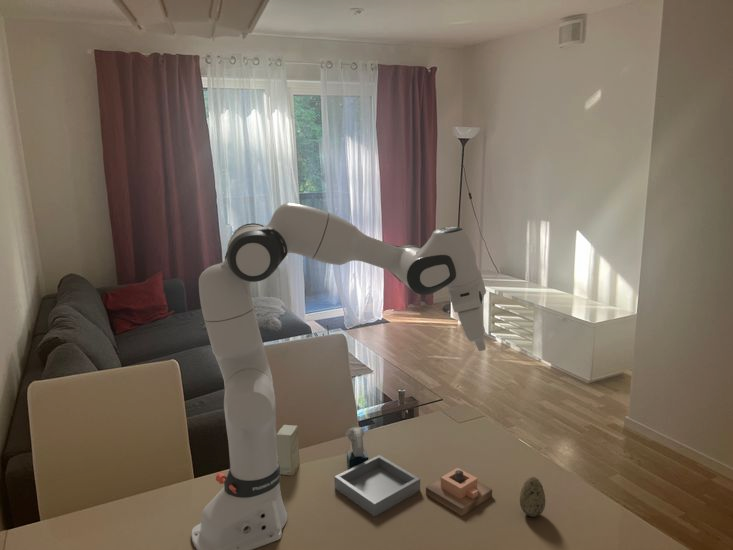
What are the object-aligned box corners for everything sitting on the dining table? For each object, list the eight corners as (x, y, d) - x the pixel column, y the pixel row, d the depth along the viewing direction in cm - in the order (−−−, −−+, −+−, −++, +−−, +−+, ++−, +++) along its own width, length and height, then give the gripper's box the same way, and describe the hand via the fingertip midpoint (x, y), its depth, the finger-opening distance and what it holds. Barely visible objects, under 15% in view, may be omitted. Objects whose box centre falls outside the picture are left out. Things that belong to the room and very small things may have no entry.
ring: (466, 502, 133) (467, 492, 133) (440, 487, 140) (440, 477, 139) (483, 492, 138) (483, 481, 137) (457, 477, 144) (457, 467, 143)
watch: (364, 455, 159) (363, 421, 157) (369, 470, 152) (369, 434, 149) (345, 458, 158) (344, 423, 156) (350, 473, 151) (349, 436, 148)
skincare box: (293, 476, 150) (291, 435, 147) (277, 474, 150) (275, 434, 148) (300, 464, 156) (298, 425, 153) (285, 462, 156) (283, 423, 154)
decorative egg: (513, 510, 133) (515, 474, 131) (533, 504, 135) (535, 468, 133) (530, 525, 128) (532, 487, 126) (549, 518, 130) (552, 481, 128)
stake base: (461, 516, 132) (462, 492, 130) (425, 494, 140) (425, 471, 139) (492, 496, 139) (492, 473, 138) (455, 476, 148) (456, 454, 147)
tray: (374, 516, 132) (374, 504, 131) (334, 488, 144) (334, 476, 143) (420, 490, 142) (420, 478, 141) (379, 466, 154) (379, 454, 153)
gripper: (455, 278, 140) (469, 326, 144) (452, 309, 121) (469, 362, 125) (478, 272, 139) (493, 320, 142) (479, 302, 120) (496, 356, 123)
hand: (482, 340), depth 133 cm, fingers open, 8 cm apart
